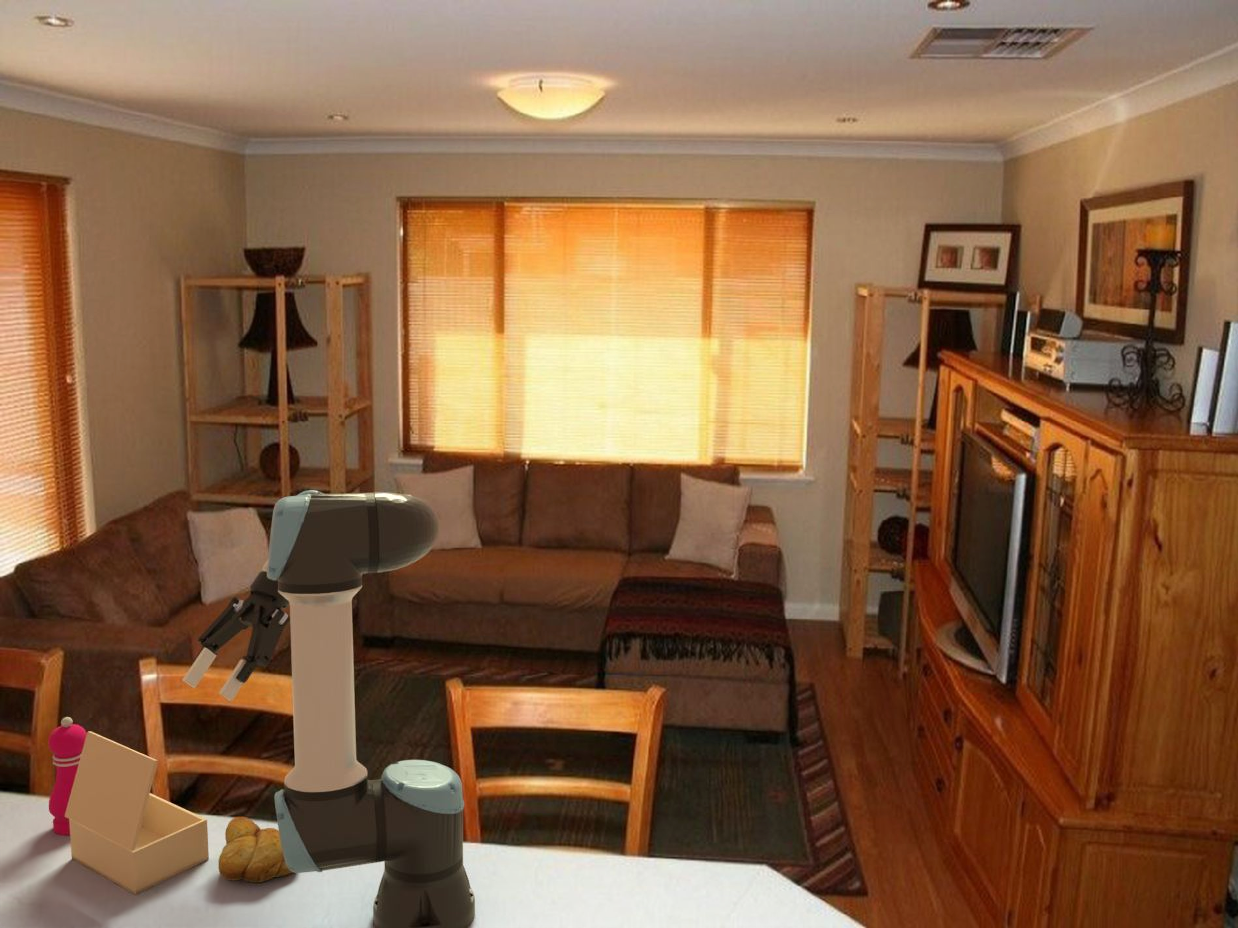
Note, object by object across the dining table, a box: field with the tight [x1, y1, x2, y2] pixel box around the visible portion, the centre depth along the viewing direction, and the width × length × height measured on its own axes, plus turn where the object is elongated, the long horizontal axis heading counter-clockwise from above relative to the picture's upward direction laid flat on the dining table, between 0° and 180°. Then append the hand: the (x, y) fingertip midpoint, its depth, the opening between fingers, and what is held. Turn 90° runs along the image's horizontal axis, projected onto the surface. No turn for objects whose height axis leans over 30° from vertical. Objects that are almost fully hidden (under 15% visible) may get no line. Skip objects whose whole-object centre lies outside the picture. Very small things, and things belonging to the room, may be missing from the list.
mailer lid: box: [65, 730, 159, 851], centre depth 172 cm, size 19×14×1 cm
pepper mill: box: [47, 716, 87, 836], centre depth 186 cm, size 7×7×20 cm
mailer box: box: [69, 792, 210, 895], centre depth 177 cm, size 18×13×7 cm
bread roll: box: [218, 816, 293, 883], centre depth 174 cm, size 13×10×8 cm
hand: (206, 690), depth 185 cm, fingers open, 9 cm apart
